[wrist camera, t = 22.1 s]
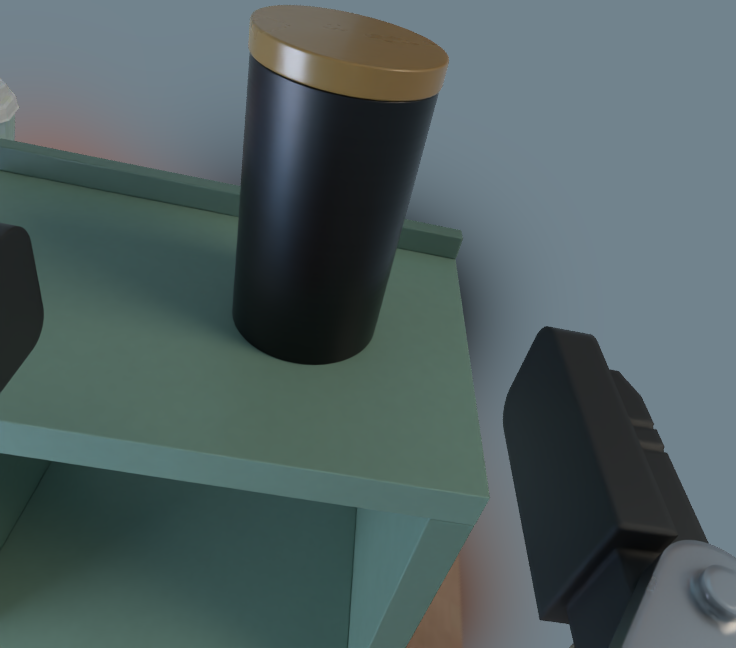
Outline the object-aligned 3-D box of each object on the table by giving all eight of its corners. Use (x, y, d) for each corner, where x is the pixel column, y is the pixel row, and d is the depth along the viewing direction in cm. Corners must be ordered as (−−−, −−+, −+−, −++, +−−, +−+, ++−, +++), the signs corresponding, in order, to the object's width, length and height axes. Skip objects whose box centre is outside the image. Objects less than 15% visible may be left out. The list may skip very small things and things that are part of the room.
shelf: (-75, 671, 27) (-299, 343, 15) (60, 439, 38) (0, 137, 26) (364, 722, 29) (504, 473, 16) (373, 488, 40) (461, 229, 27)
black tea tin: (213, 350, 20) (228, 34, 14) (247, 263, 24) (270, -7, 18) (372, 379, 20) (456, 86, 14) (378, 288, 24) (443, 33, 18)
